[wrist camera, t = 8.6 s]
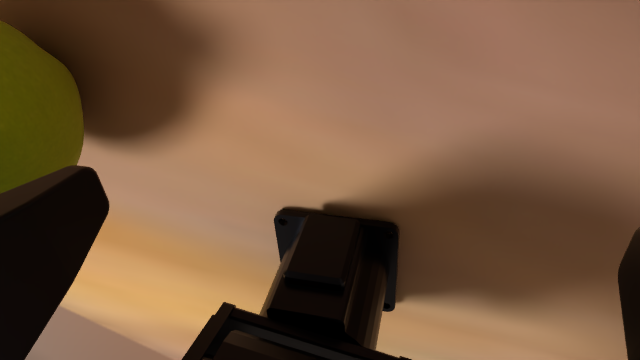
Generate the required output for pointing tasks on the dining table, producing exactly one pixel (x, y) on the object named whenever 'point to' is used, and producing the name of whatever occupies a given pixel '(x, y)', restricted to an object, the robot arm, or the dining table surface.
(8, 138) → the fruit
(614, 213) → the dining table surface
